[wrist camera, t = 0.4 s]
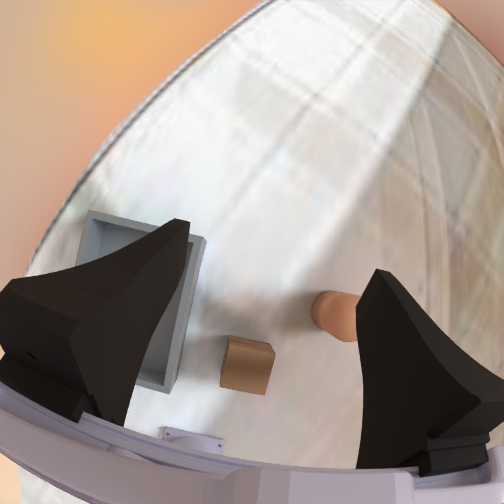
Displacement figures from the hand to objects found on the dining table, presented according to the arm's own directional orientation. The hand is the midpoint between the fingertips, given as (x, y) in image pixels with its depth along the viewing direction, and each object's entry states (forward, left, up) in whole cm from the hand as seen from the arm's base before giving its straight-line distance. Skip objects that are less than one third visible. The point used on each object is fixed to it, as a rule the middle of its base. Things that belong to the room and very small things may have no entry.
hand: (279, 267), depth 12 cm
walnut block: (-11, -3, -26) cm, 28 cm away
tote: (-7, +12, -26) cm, 29 cm away
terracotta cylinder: (-3, -12, -26) cm, 28 cm away
